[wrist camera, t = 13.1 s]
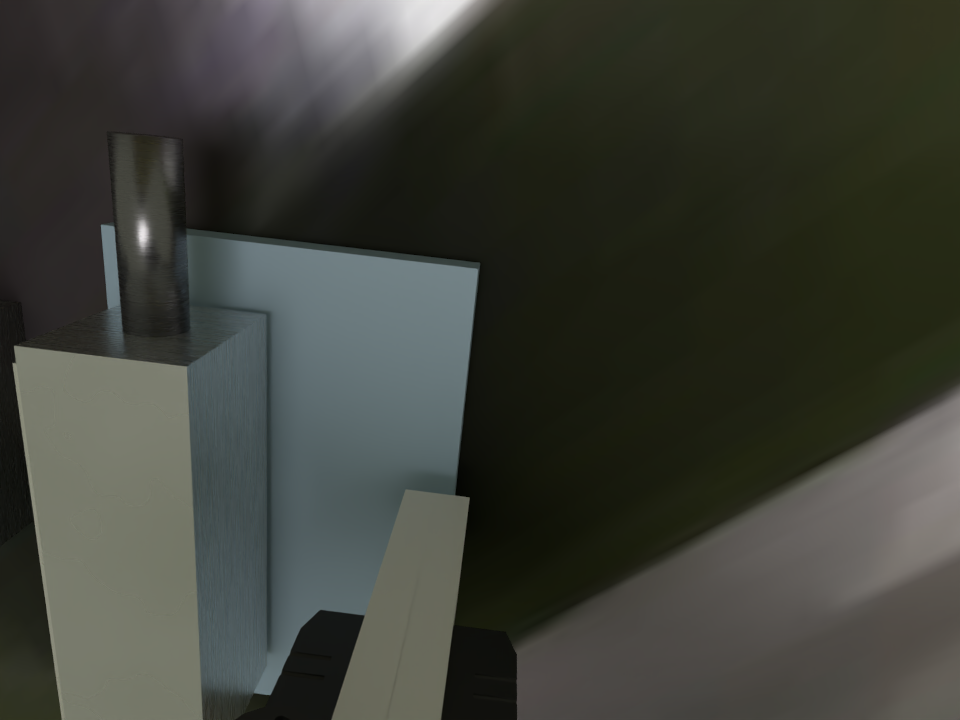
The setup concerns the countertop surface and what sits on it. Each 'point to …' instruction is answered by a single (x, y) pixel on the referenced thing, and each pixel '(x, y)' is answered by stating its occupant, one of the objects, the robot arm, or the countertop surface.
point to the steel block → (12, 430)
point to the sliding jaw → (150, 474)
